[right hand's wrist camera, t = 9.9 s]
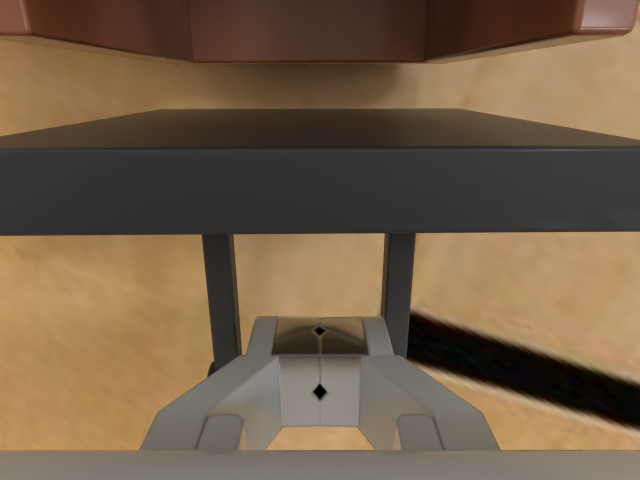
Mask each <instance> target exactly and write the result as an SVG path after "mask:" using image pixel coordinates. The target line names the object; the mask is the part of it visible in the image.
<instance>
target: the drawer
mask: <svg viewBox="0 0 640 480" xmlns="http://www.w3.org/2000/svg"><path fill="white" fill-rule="evenodd" d="M639 1H640V0H0V40H6V41H13V42H20V43H27V44H34V45H41V46H48V47H55V48H63V49H70V50H77V51H84V52H91V53H98V54H105V55H112V56H120V57H127V58H134V59H141V60H148V61H155V62H162V63H171V64H444V63H450V62H457V61H463V60H470V59H476V58H483V57H489V56H496V55H502V54H508V53H515V52H521V51H528V50H534V49H541V48H547V47H554V46H560V45H567V44H573V43H579V42H586V41H592V40H599V39H605V38H612V37H618V36H624V35H626V34H628V33H630V32H631V31H632V29H633V27H634V24H635V20H636V15H637V11H638V6H639ZM635 231H640V140H637V139H631V138H625V137H619V136H614V135H608V134H602V133H596V132H590V131H585V130H579V129H573V128H567V127H561V126H556V125H550V124H544V123H538V122H532V121H527V120H521V119H515V118H509V117H503V116H498V115H492V114H486V113H480V112H474V111H469V110H463V109H162V110H155V111H149V112H143V113H137V114H131V115H125V116H120V117H114V118H108V119H102V120H96V121H90V122H84V123H78V124H72V125H66V126H60V127H55V128H49V129H43V130H37V131H31V132H25V133H19V134H13V135H7V136H1V137H0V236H35V235H185V234H202V242H203V252H204V262H205V272H206V282H207V292H208V302H209V312H210V322H211V333H212V343H213V353H214V361H213V362H212V363H211V365H210V368H209V371H208V376H207V378H208V377H209V376H210V375H212V374H213V373H215V372H216V371H218V370H219V369H221V368H222V367H223V366H225V365H226V364H228V363H229V362H231V361H232V360H234V359H235V358H236V357H238V356H239V355H242V347H241V333H240V319H239V306H238V292H237V278H236V265H235V251H234V237H233V234H335V233H385V241H384V261H383V280H382V300H381V316H383V317H384V320H385V323H386V327H387V331H388V334H389V338H390V342H391V345H392V349H393V353H394V355H400V356H402V357H403V358H405V359H406V355H407V342H408V329H409V315H410V302H411V289H412V276H413V263H414V250H415V237H416V233H485V232H635ZM406 360H408V359H406ZM408 361H409V360H408Z"/></svg>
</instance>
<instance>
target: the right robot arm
mask: <svg viewBox="0 0 640 480" xmlns="http://www.w3.org/2000/svg"><path fill="white" fill-rule="evenodd" d="M311 426H328V427H359V430H360V432H361V433H362V434H363V435H364V437H365V438H366V439H367V440H368V442H369V443H370V444H371V445H372V447H373V448H374V449H375V450H265V449H266V448H267V447H268V446H269V444H270V443H271V442H272V441H273V439H274V438H275V437H276V436H277V434H278V433H279V432H280V431H281V427H311ZM0 480H640V450H500V448H499V445H498V443H497V441H496V439H495V437H494V435H493V433H492V431H491V429H490V427H489V425H488V423H487V421H486V419H485V416H484V414H483V413H482V412H481V411H480V410H478V409H477V408H475V407H474V406H472V405H471V404H469V403H468V402H467V401H465V400H464V399H462V398H461V397H459V396H458V395H457V394H455V393H454V392H452V391H451V390H449V389H448V388H446V387H445V386H444V385H442V384H441V383H439V382H438V381H436V380H435V379H434V378H432V377H431V376H429V375H428V374H426V373H425V372H424V371H422V370H421V369H419V368H418V367H416V366H415V365H413V364H412V363H411V362H409V361H408V360H406V359H405V358H403V357H402V356H400V355H394V353H393V349H392V345H391V342H390V338H389V334H388V331H387V327H386V323H385V320H384V317H383V316H366V317H287V316H279V317H278V316H258V317H257V318H256V319H255V322H254V326H253V330H252V333H251V337H250V341H249V344H248V348H247V352H246V355H239V356H238V357H236V358H235V359H234V360H232V361H231V362H229V363H228V364H226V365H225V366H223V367H222V368H221V369H219V370H218V371H216V372H215V373H213V374H212V375H210V376H209V377H208V378H206V379H205V380H203V381H202V382H200V383H199V384H197V385H196V386H195V387H193V388H192V389H190V390H189V391H187V392H186V393H184V394H183V395H182V396H180V397H179V398H177V399H176V400H174V401H173V402H171V403H170V404H169V405H167V406H166V407H164V408H163V409H161V410H160V411H158V412H157V414H156V416H155V418H154V421H153V423H152V425H151V427H150V429H149V431H148V433H147V435H146V437H145V439H144V441H143V443H142V445H141V447H140V449H139V450H0Z"/></svg>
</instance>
